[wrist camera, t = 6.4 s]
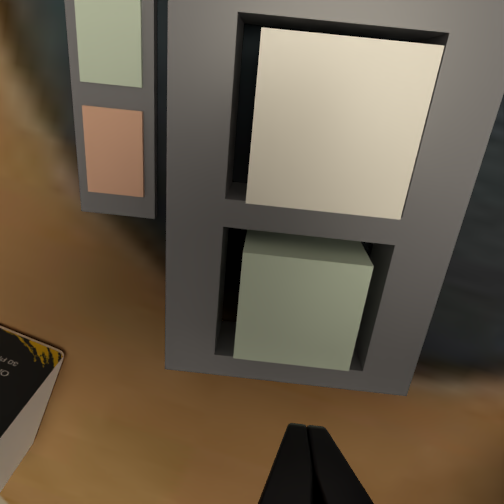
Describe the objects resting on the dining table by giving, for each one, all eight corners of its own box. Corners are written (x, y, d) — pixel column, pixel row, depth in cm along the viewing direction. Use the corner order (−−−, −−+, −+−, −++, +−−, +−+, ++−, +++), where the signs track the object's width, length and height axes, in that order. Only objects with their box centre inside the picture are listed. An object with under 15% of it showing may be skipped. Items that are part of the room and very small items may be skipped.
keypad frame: (390, 357, 19) (406, 396, 16) (178, 334, 19) (165, 368, 16) (569, -271, 10) (651, -369, 8) (193, -305, 11) (171, -412, 8)
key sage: (337, 326, 18) (348, 371, 15) (239, 315, 18) (233, 358, 15) (356, 234, 16) (373, 266, 13) (248, 223, 16) (243, 252, 13)
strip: (157, 215, 16) (153, 220, 16) (85, 208, 17) (79, 212, 16) (156, -48, 13) (152, -53, 12) (65, -57, 13) (57, -62, 12)
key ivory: (375, 192, 14) (400, 219, 11) (251, 179, 14) (245, 203, 11) (406, 53, 12) (444, 45, 10) (264, 39, 12) (261, 27, 10)
